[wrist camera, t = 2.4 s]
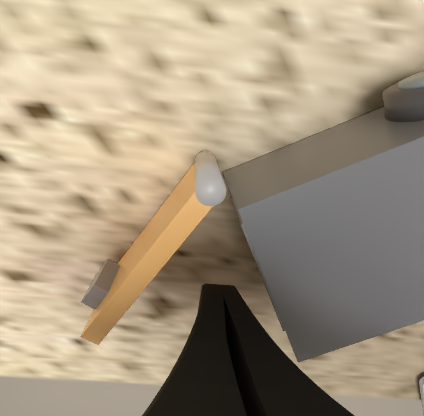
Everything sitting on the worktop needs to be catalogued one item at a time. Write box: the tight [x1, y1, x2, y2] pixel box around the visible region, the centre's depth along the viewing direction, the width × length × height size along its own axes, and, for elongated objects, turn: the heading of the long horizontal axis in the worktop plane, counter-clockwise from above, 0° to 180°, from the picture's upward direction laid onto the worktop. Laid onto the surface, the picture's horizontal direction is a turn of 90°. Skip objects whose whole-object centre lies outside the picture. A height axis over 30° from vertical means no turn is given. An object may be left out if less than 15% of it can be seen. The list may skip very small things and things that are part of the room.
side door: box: [81, 151, 226, 345], centre depth 11 cm, size 8×1×4 cm, turn 142°
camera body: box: [223, 71, 424, 362], centre depth 11 cm, size 8×11×5 cm
